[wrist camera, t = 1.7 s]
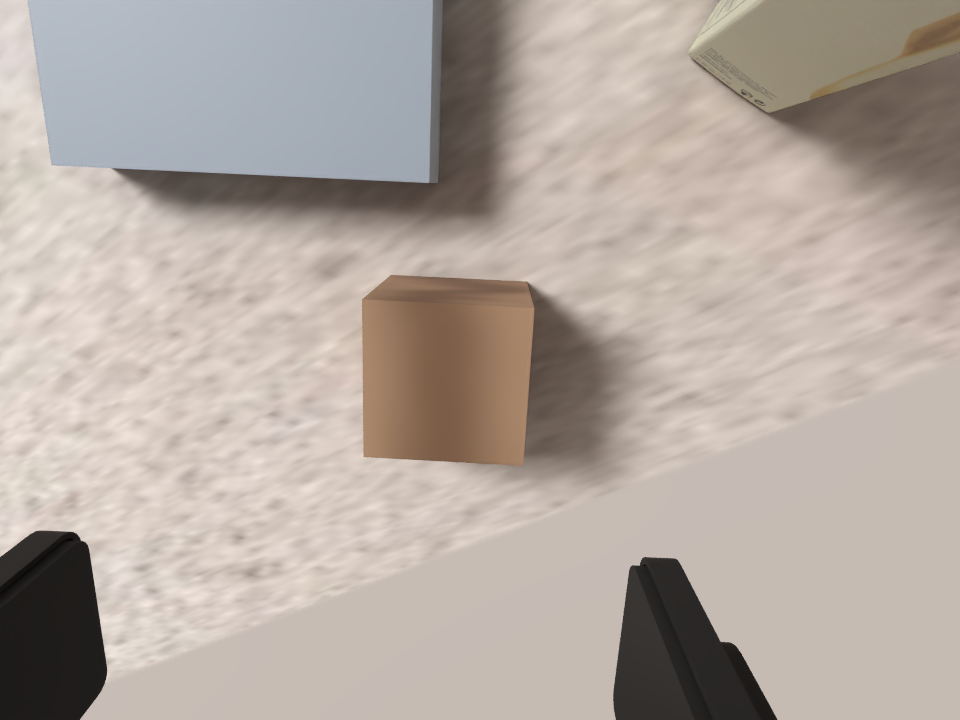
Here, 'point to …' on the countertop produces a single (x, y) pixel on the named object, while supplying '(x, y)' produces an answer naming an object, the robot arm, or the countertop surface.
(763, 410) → the countertop surface
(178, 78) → the slate base block
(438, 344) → the walnut cube
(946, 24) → the skincare box
